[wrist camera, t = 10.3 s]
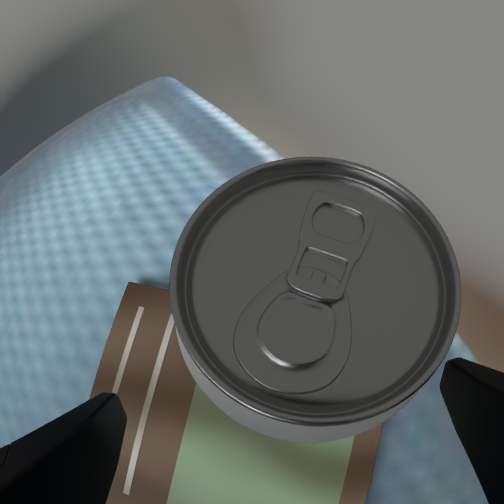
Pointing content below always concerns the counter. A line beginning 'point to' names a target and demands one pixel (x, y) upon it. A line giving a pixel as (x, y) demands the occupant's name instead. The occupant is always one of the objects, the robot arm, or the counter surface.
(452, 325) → the can
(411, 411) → the counter surface
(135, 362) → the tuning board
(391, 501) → the counter surface
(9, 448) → the robot arm
